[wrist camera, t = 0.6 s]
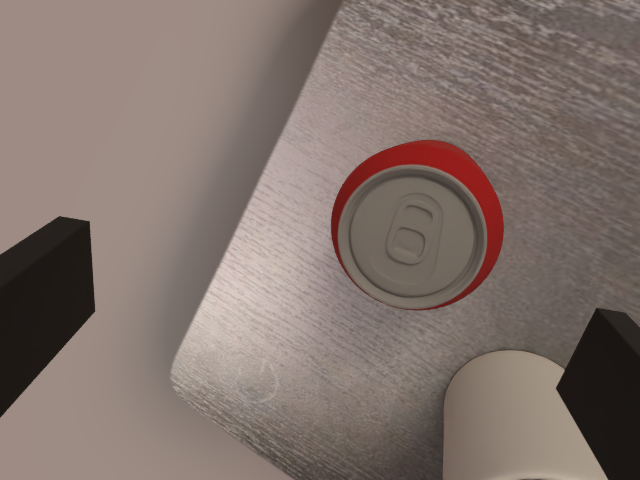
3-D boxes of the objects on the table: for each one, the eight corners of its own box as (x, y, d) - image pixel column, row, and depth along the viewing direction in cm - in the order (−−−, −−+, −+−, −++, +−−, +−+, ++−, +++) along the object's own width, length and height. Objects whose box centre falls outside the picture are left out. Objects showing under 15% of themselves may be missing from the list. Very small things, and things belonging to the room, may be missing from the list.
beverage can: (358, 229, 29) (300, 291, 18) (390, 125, 27) (346, 121, 16) (462, 264, 28) (468, 353, 17) (503, 157, 26) (542, 177, 15)
